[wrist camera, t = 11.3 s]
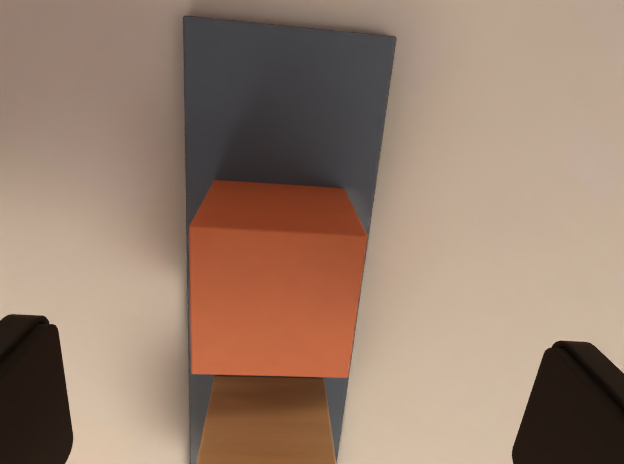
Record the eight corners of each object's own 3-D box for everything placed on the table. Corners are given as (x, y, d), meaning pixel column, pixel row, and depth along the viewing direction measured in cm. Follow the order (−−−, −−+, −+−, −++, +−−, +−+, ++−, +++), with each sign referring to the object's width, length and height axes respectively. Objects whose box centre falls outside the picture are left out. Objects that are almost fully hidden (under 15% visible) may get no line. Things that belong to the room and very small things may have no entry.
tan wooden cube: (214, 374, 18) (194, 470, 14) (324, 377, 18) (337, 471, 14) (213, 458, 19) (195, 566, 15) (315, 459, 20) (324, 564, 16)
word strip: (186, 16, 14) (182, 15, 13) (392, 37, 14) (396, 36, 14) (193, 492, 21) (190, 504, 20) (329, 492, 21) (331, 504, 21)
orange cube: (213, 179, 15) (188, 225, 11) (344, 187, 15) (368, 235, 11) (213, 295, 16) (190, 375, 12) (331, 300, 17) (348, 378, 13)
